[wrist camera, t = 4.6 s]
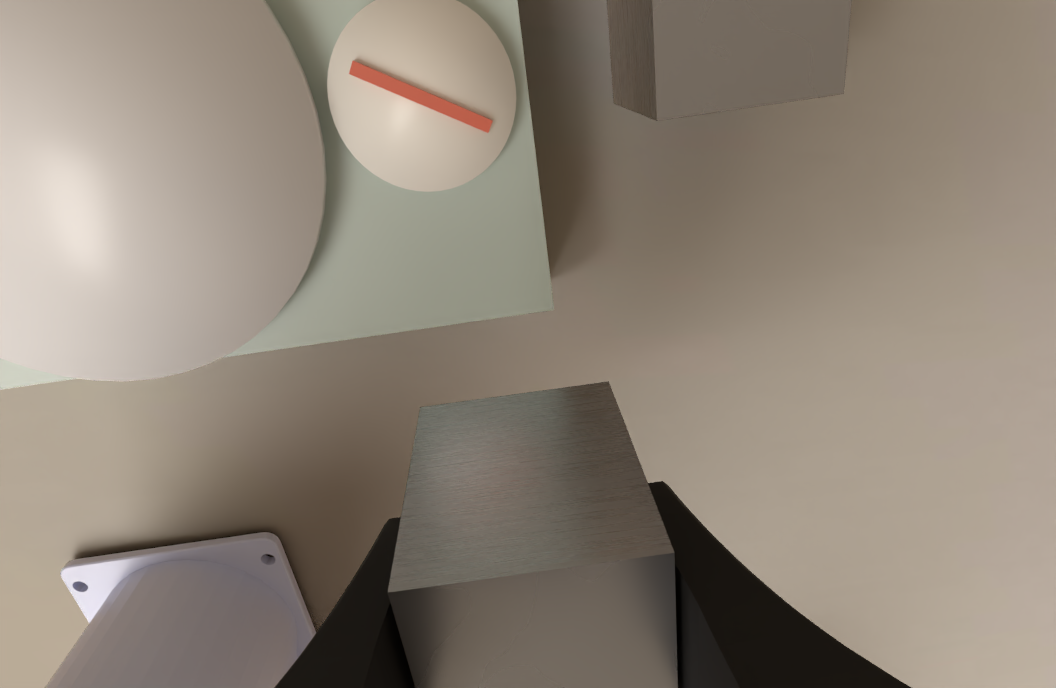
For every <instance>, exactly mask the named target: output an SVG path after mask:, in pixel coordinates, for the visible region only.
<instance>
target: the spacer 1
mask: <svg viewBox="0 0 1056 688" xmlns="http://www.w3.org/2000/svg"><path fill="white" fill-rule="evenodd" d="M388 596H389V599H390V603H391V606H392V610H393V613H394V616H395V620H396V623H397V627H398V630H399V634H400V637H401V640H402V644H403V647H404V651H405V654H406V657H407V661H408V664H409V668H410V671H411V675H412V678H413V681H414V685H415V688H678V675H677V634H676V593H675V553H674V550H673V547H672V545H671V542H670V540H669V537H668V534H667V532H666V529H665V527H664V524H663V521H662V519H661V516H660V514H659V511H658V508H657V506H656V503H655V501H654V498H653V495H652V493H651V490H650V488H649V485H648V482H647V480H646V477H645V475H644V472H643V469H642V467H641V464H640V462H639V459H638V457H637V454H636V451H635V449H634V446H633V444H632V441H631V438H630V436H629V433H628V431H627V428H626V425H625V423H624V420H623V418H622V415H621V412H620V410H619V407H618V405H617V402H616V399H615V397H614V394H613V392H612V389H611V386H610V384H609V382H602V383H594V384H587V385H580V386H572V387H565V388H558V389H550V390H543V391H536V392H528V393H521V394H514V395H507V396H499V397H492V398H485V399H477V400H470V401H463V402H455V403H448V404H441V405H433V406H426V407H420V412H419V418H418V424H417V429H416V435H415V440H414V446H413V452H412V457H411V463H410V469H409V474H408V480H407V486H406V491H405V497H404V503H403V508H402V514H401V519H400V525H399V531H398V536H397V542H396V548H395V553H394V559H393V565H392V570H391V576H390V582H389V587H388Z"/></svg>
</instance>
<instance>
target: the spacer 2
mask: <svg viewBox="0 0 1056 688" xmlns="http://www.w3.org/2000/svg"><path fill="white" fill-rule="evenodd" d="M851 1H852V0H607V10H608V25H609V40H610V56H611V71H612V86H613V101H614V104H616V105H619V106H621V107H624V108H626V109H629V110H631V111H634V112H636V113H639V114H641V115H644V116H646V117H649V118H651V119H654V120H656V121H659V120H666V119H673V118H680V117H687V116H694V115H701V114H708V113H715V112H722V111H728V110H735V109H742V108H749V107H756V106H763V105H770V104H777V103H784V102H791V101H798V100H805V99H812V98H819V97H826V96H833V95H840V94H844V87H845V75H846V63H847V50H848V38H849V26H850V14H851Z"/></svg>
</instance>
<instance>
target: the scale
mask: <svg viewBox="0 0 1056 688" xmlns="http://www.w3.org/2000/svg"><path fill="white" fill-rule="evenodd" d="M551 310H554V303H553V295H552V286H551V278H550V270H549V261H548V253H547V244H546V236H545V228H544V219H543V211H542V202H541V194H540V186H539V177H538V169H537V161H536V152H535V144H534V135H533V127H532V119H531V110H530V102H529V93H528V85H527V77H526V68H525V60H524V52H523V43H522V35H521V26H520V18H519V10H518V1H517V0H0V390H1V389H8V388H15V387H22V386H29V385H36V384H43V383H50V382H57V381H64V380H71V379H78V378H79V379H86V380H94V381H137V380H148V379H157V378H162V377H167V376H171V375H176V374H181V373H185V372H188V371H190V370H193V369H196V368H199V367H202V366H205V365H208V364H210V363H212V362H214V361H216V360H218V359H220V358H224V357H231V356H238V355H245V354H252V353H259V352H266V351H273V350H280V349H287V348H294V347H301V346H308V345H315V344H322V343H329V342H336V341H342V340H349V339H356V338H363V337H370V336H377V335H384V334H391V333H398V332H405V331H412V330H419V329H426V328H433V327H440V326H447V325H454V324H461V323H468V322H475V321H482V320H489V319H496V318H503V317H510V316H517V315H524V314H531V313H538V312H545V311H551Z"/></svg>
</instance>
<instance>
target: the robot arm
mask: <svg viewBox="0 0 1056 688" xmlns="http://www.w3.org/2000/svg"><path fill="white" fill-rule="evenodd" d="M648 485H649V488H650V490H651V493H652V495H653V498H654V501H655V503H656V506H657V508H658V511H659V514H660V516H661V519H662V521H663V524H664V527H665V529H666V532H667V534H668V537H669V540H670V542H671V545H672V547H673V550H674V553H675V593H676V634H677V675H678V688H911V687H909V686H908V685H906V684H904V683H903V682H901V681H899V680H898V679H896V678H894V677H893V676H891V675H890V674H888V673H886V672H885V671H883V670H882V669H880V668H879V667H877V666H876V665H874V664H872V663H871V662H869V661H868V660H866V659H865V658H863V657H861V656H860V655H858V654H857V653H855V652H854V651H852V650H850V649H849V648H847V647H846V646H844V645H843V644H842V643H840V642H839V641H837V640H836V639H835V638H833V637H832V636H830V635H829V634H827V633H826V632H825V631H823V630H822V629H820V628H819V627H818V626H816V625H815V624H814V623H812V622H811V621H810V620H809V619H807V618H806V617H805V616H803V615H802V614H801V613H799V612H798V611H797V610H795V609H794V608H793V607H792V606H790V605H789V604H788V603H787V602H785V601H784V600H783V599H782V598H781V597H779V596H778V595H777V594H776V593H775V592H773V591H772V590H771V589H770V588H769V587H768V586H766V585H765V584H764V583H763V582H762V581H761V580H760V579H758V578H757V577H756V576H755V575H754V574H753V573H752V572H750V571H749V570H748V569H747V568H746V567H745V566H744V565H743V564H742V563H741V562H740V561H739V560H738V559H736V558H735V557H734V556H733V555H732V554H731V553H730V552H729V551H728V550H727V549H726V548H725V547H724V546H723V545H722V544H721V543H720V542H719V541H718V540H717V539H716V538H715V537H714V536H713V535H712V534H711V533H710V532H709V531H708V530H707V529H706V528H705V527H704V526H703V524H702V523H701V522H700V521H699V520H698V519H697V518H696V517H695V516H694V515H693V514H692V513H691V511H690V510H689V509H688V508H687V507H686V506H685V505H684V504H683V502H682V501H681V500H680V499H679V498H678V497H677V495H676V494H675V493H674V492H673V491H672V489H671V488H670V487H669V486H668V485H667V484H666V483H664V482H663V481H661V482H654V483H648ZM400 519H401V517H400V518H392V519H389V520H388V521H387V523H386V524H385V525H384V527H383V529H382V531H381V532H380V534H379V536H378V538H377V539H376V541H375V543H374V544H373V546H372V548H371V550H370V551H369V553H368V555H367V556H366V558H365V560H364V561H363V563H362V565H361V566H360V568H359V570H358V571H357V573H356V575H355V576H354V578H353V579H352V581H351V582H350V584H349V585H348V587H347V589H346V590H345V592H344V593H343V595H342V596H341V598H340V599H339V601H338V602H337V604H336V606H335V607H334V609H333V610H332V612H331V613H330V614H329V616H328V617H327V619H326V620H325V621H324V623H323V624H322V626H321V627H320V628H319V630H318V631H317V633H316V631H315V628H314V626H313V623H312V620H311V618H310V615H309V613H308V610H307V608H306V605H305V603H304V600H303V597H302V595H301V592H300V590H299V587H298V585H297V582H296V580H295V577H294V574H293V572H292V569H291V567H290V564H289V562H288V559H287V557H286V554H285V551H284V549H283V546H282V544H281V541H280V540H279V538H278V537H277V536H276V535H274V534H272V533H269V532H261V533H254V534H247V535H240V536H233V537H226V538H220V539H213V540H206V541H199V542H192V543H185V544H178V545H171V546H164V547H157V548H150V549H143V550H136V551H129V552H122V553H115V554H109V555H102V556H95V557H88V558H81V559H74V560H71V561H69V562H68V563H67V564H66V565H65V566H64V567H63V568H62V570H61V573H60V574H61V577H62V579H63V581H64V582H65V584H66V586H67V587H68V589H69V591H70V592H71V594H72V595H73V597H74V599H75V600H76V602H77V604H78V605H79V607H80V609H81V610H82V612H83V614H84V615H85V617H86V618H87V620H88V622H89V624H88V626H87V627H86V629H85V630H84V632H83V633H82V635H81V636H80V637H79V639H78V640H77V642H76V643H75V645H74V646H73V648H72V649H71V651H70V652H69V653H68V655H67V656H66V658H65V659H64V661H63V662H62V664H61V665H60V666H59V668H58V669H57V671H56V672H55V674H54V675H53V677H52V678H51V679H50V681H49V682H48V684H47V685H46V687H45V688H415V685H414V681H413V678H412V675H411V671H410V668H409V664H408V661H407V657H406V654H405V651H404V647H403V644H402V640H401V637H400V634H399V630H398V627H397V623H396V620H395V616H394V613H393V610H392V606H391V603H390V599H389V596H388V587H389V582H390V576H391V570H392V565H393V559H394V553H395V548H396V542H397V536H398V531H399V525H400ZM266 554H270V555H272V556H274V557H269V556H267V555H266ZM83 582H84V583H83Z"/></svg>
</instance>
